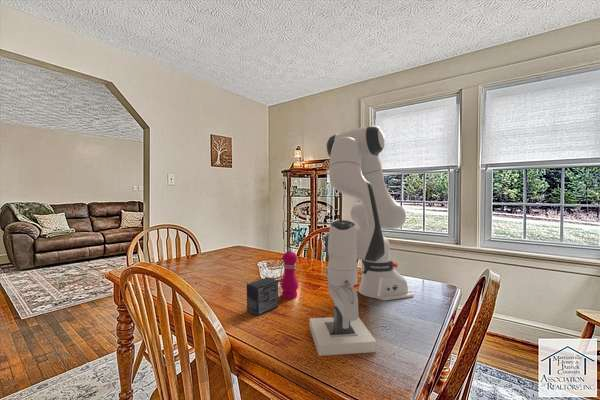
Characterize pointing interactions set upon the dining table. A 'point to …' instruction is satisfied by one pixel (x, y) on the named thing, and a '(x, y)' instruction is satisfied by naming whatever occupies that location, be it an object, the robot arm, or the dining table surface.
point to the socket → (341, 338)
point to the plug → (339, 323)
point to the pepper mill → (289, 276)
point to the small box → (262, 296)
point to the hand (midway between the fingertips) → (342, 322)
